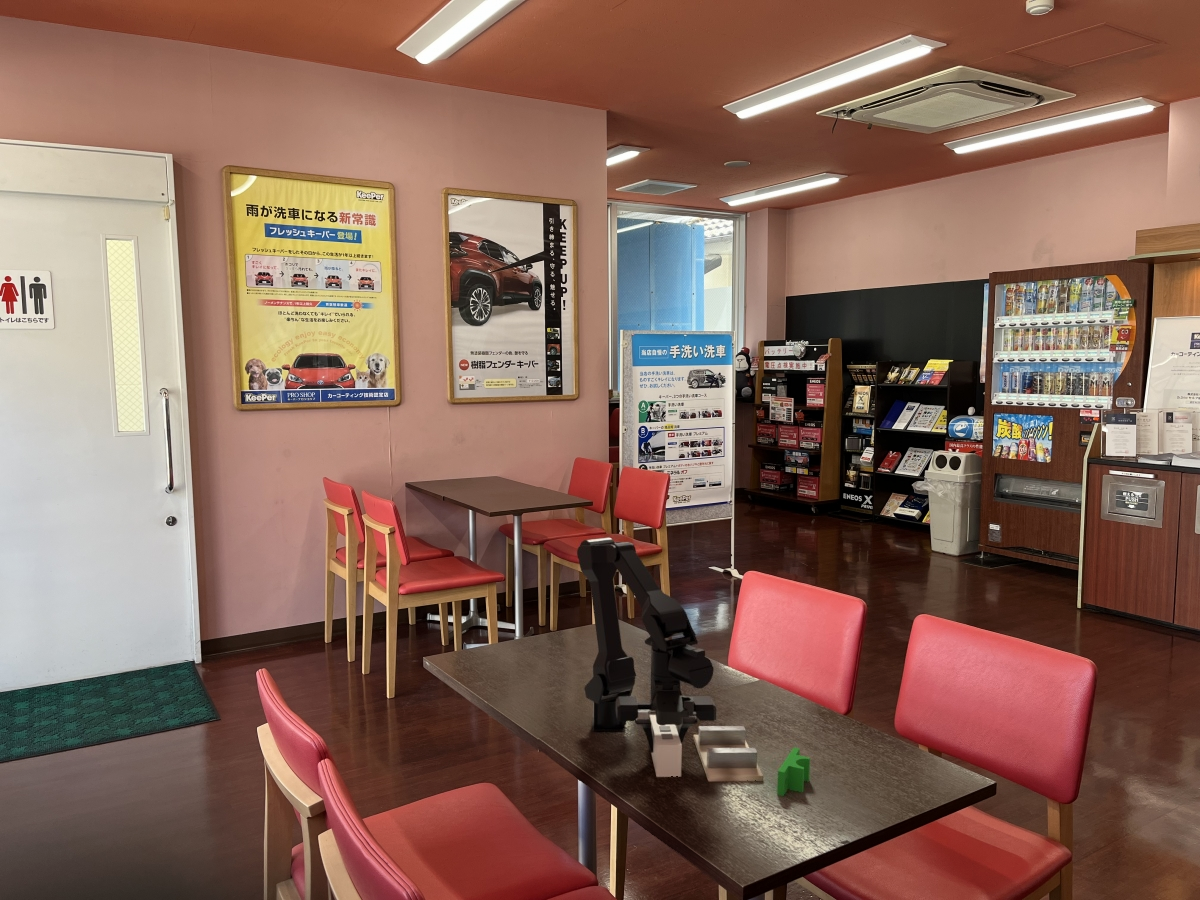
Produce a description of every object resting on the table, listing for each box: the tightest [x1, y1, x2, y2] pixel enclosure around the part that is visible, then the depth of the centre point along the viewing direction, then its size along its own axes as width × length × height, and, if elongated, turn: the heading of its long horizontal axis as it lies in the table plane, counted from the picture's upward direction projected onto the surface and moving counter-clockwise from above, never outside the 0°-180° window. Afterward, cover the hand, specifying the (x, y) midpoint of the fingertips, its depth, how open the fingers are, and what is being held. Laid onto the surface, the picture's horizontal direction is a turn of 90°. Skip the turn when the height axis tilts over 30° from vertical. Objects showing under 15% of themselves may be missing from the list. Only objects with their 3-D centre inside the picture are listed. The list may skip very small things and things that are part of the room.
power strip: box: [650, 714, 683, 778], centre depth 161 cm, size 4×14×6 cm, turn 2°
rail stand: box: [693, 725, 764, 782], centre depth 161 cm, size 10×18×4 cm, turn 2°
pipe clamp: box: [776, 746, 811, 797], centre depth 151 cm, size 11×4×5 cm, turn 153°
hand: (664, 751), depth 161 cm, fingers closed on power strip, 4 cm apart
